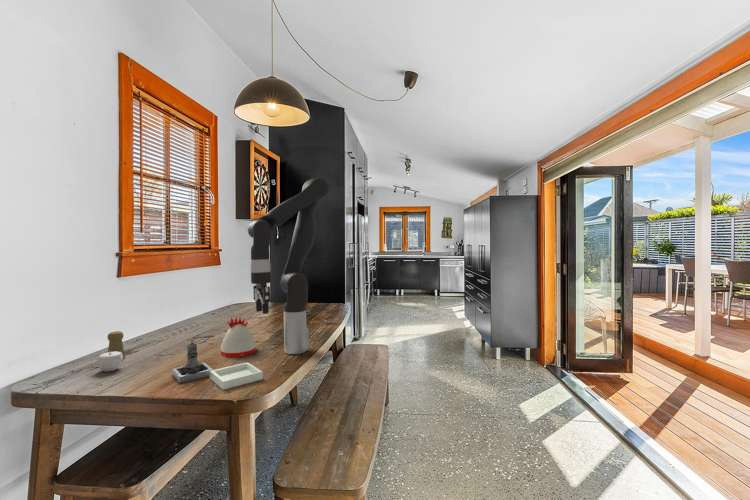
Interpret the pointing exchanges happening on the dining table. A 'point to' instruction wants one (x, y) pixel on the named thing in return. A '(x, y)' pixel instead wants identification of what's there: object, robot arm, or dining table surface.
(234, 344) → the kitchen timer
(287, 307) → the robot arm
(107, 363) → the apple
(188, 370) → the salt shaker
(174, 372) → the holder
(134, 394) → the dining table surface
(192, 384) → the dining table surface
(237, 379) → the tray
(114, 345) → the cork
